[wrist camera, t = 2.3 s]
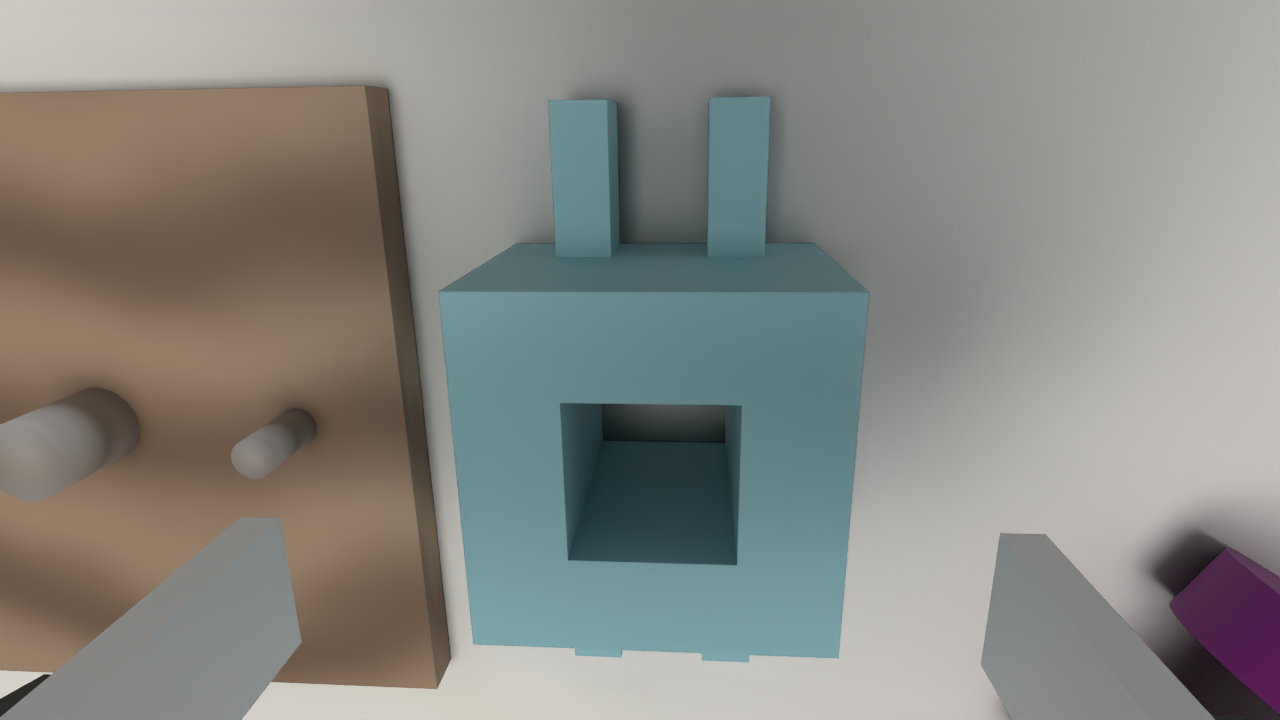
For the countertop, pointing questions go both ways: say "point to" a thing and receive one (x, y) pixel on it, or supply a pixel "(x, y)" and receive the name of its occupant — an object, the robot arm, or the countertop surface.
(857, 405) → the flange block
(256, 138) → the plate
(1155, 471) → the countertop surface
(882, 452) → the countertop surface
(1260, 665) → the mounting bracket
